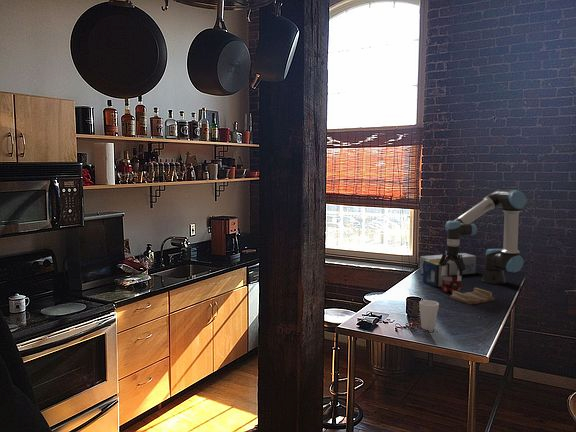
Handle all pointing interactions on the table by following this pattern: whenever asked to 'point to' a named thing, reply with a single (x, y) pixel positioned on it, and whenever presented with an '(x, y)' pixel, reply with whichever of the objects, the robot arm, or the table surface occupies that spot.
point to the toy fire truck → (450, 284)
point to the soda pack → (453, 270)
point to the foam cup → (428, 314)
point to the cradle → (473, 296)
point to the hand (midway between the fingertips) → (451, 278)
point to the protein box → (434, 272)
